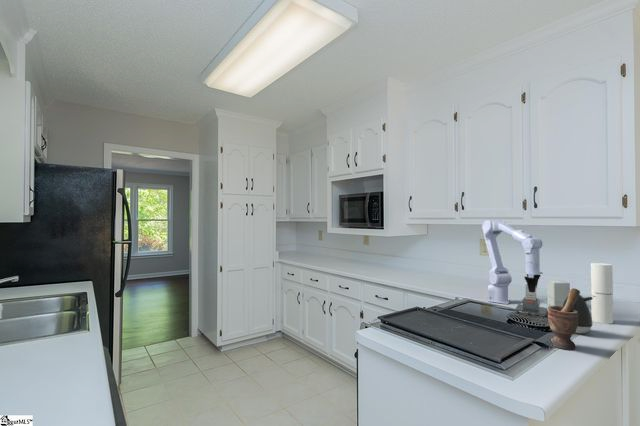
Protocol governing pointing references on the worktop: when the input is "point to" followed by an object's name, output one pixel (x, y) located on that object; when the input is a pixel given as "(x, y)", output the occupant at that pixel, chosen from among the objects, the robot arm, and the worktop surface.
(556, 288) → the supplement box
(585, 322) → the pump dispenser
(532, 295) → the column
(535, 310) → the stand
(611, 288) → the cylindrical container
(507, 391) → the worktop surface
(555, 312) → the mortar and pestle
